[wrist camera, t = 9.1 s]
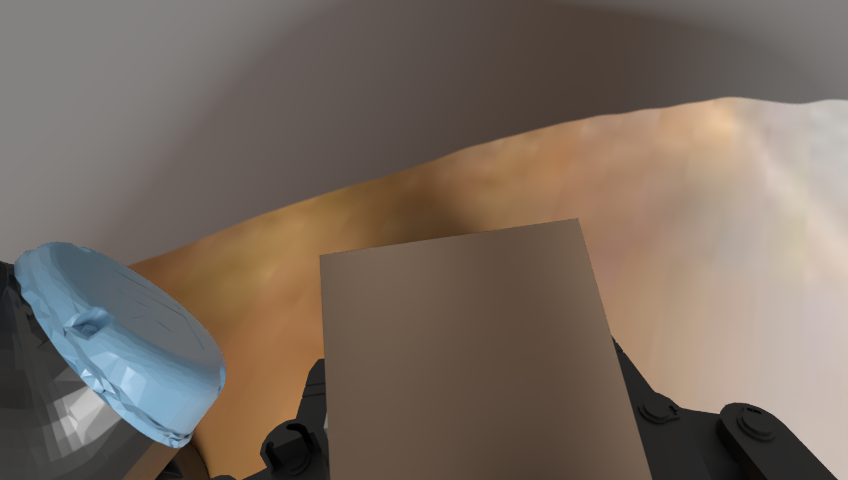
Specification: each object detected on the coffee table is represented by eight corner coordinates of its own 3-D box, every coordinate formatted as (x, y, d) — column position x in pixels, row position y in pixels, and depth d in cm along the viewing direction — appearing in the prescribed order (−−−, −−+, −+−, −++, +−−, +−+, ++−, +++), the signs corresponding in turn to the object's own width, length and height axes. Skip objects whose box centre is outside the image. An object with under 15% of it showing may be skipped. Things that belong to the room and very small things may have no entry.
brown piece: (403, 431, 18) (334, 574, 6) (390, 310, 20) (319, 255, 8) (522, 414, 18) (665, 528, 6) (498, 295, 20) (578, 218, 8)
